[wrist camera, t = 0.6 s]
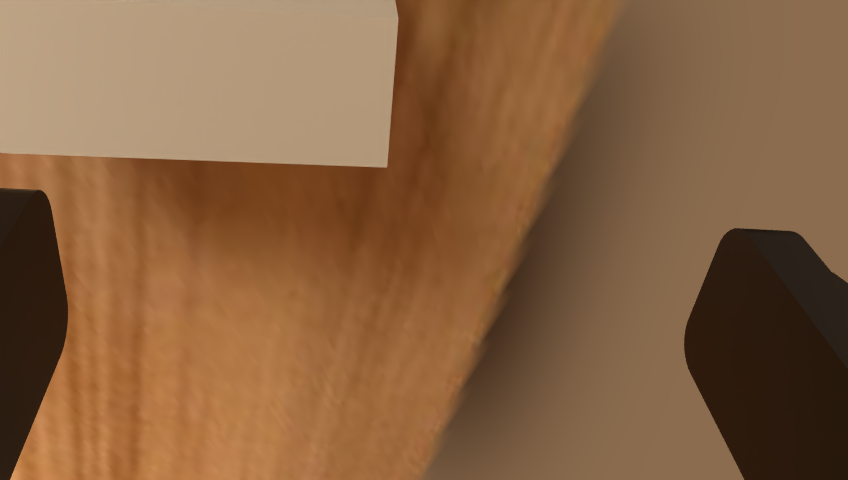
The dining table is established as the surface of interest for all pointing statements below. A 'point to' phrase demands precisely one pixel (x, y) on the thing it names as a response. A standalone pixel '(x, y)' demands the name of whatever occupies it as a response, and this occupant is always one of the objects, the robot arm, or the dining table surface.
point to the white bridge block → (199, 79)
